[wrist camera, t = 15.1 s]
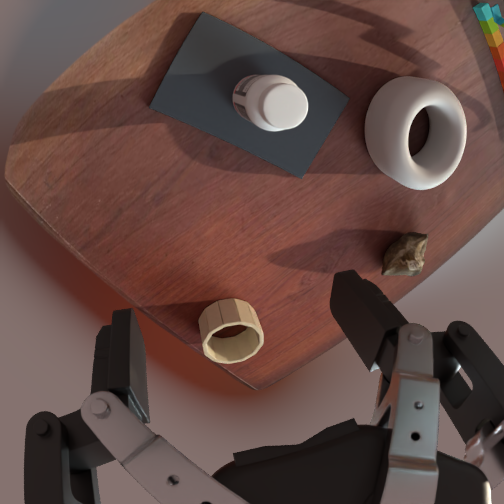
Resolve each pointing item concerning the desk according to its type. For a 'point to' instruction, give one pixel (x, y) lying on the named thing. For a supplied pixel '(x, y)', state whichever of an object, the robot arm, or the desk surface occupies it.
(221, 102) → the mat
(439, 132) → the fat ring
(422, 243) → the fossilized seashell
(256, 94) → the pill bottle
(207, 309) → the bracelet
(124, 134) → the desk surface
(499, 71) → the chart
